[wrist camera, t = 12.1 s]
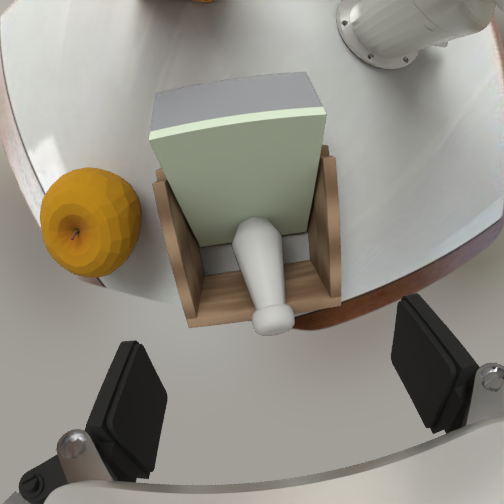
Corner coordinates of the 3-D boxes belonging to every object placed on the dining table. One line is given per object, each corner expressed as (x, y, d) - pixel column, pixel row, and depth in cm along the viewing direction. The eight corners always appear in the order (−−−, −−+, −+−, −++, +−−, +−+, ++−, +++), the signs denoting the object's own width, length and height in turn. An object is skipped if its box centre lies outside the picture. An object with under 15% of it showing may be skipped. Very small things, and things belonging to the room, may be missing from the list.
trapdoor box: (172, 162, 36) (150, 173, 27) (308, 142, 36) (334, 146, 27) (198, 284, 43) (188, 328, 33) (318, 266, 43) (341, 305, 33)
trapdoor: (155, 93, 25) (149, 140, 22) (305, 71, 25) (326, 114, 22) (198, 205, 43) (200, 247, 40) (296, 191, 43) (306, 231, 40)
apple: (106, 267, 41) (73, 308, 31) (56, 197, 37) (9, 221, 26) (172, 220, 39) (151, 253, 29) (118, 140, 35) (77, 146, 24)
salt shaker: (253, 245, 40) (272, 342, 33) (219, 232, 36) (234, 339, 30) (287, 222, 37) (314, 325, 30) (254, 204, 33) (279, 319, 27)
